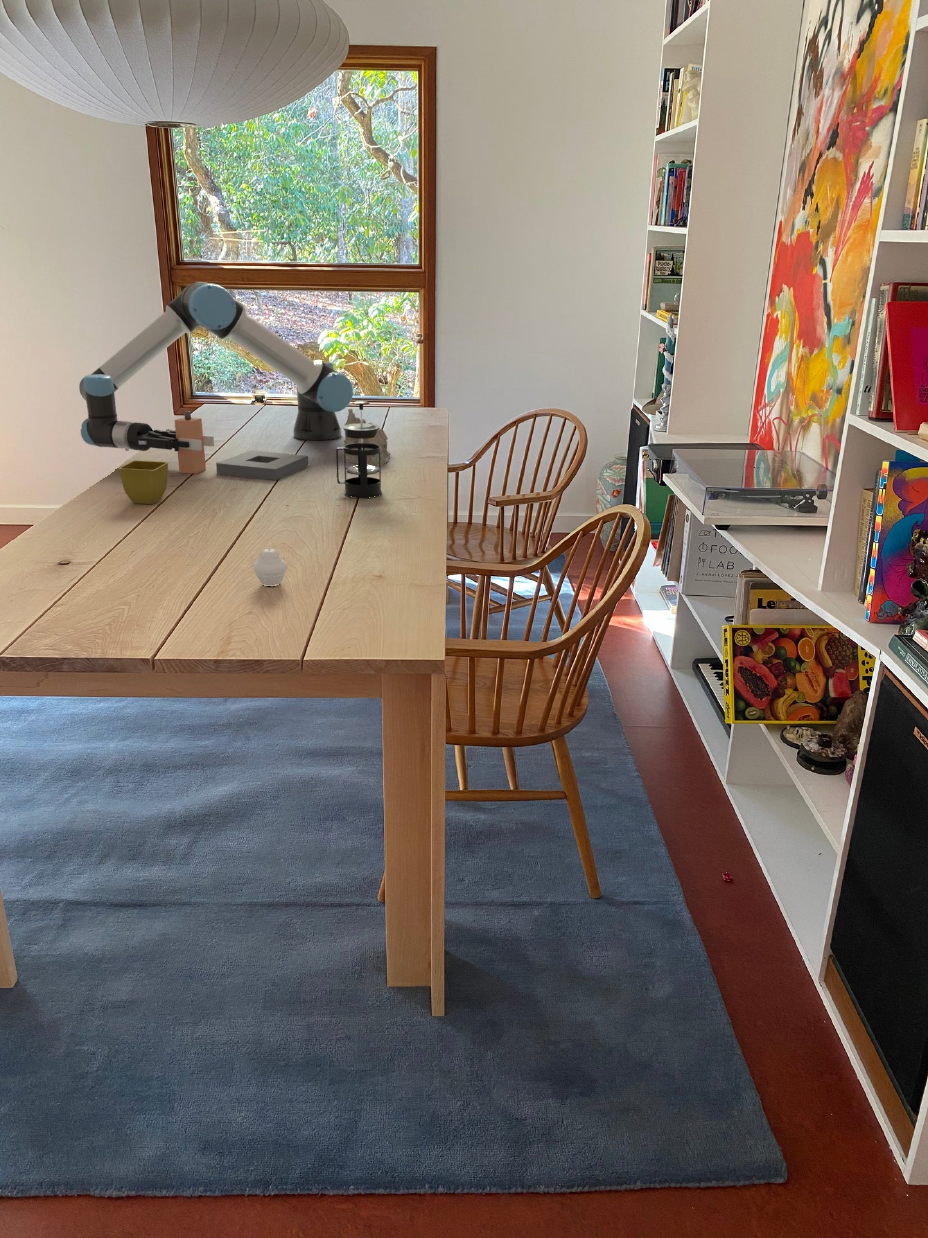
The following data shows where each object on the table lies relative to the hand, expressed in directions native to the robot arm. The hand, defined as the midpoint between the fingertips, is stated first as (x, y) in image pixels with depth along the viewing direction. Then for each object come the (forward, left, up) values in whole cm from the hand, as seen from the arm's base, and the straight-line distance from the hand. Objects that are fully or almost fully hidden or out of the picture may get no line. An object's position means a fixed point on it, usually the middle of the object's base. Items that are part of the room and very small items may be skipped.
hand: (206, 443), depth 252 cm
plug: (+4, -4, -8) cm, 10 cm away
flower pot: (+20, +24, -8) cm, 32 cm away
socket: (-14, +2, -8) cm, 17 cm away
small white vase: (+8, +92, -8) cm, 93 cm away
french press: (-30, +36, -8) cm, 48 cm away
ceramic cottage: (-46, -1, -8) cm, 47 cm away
